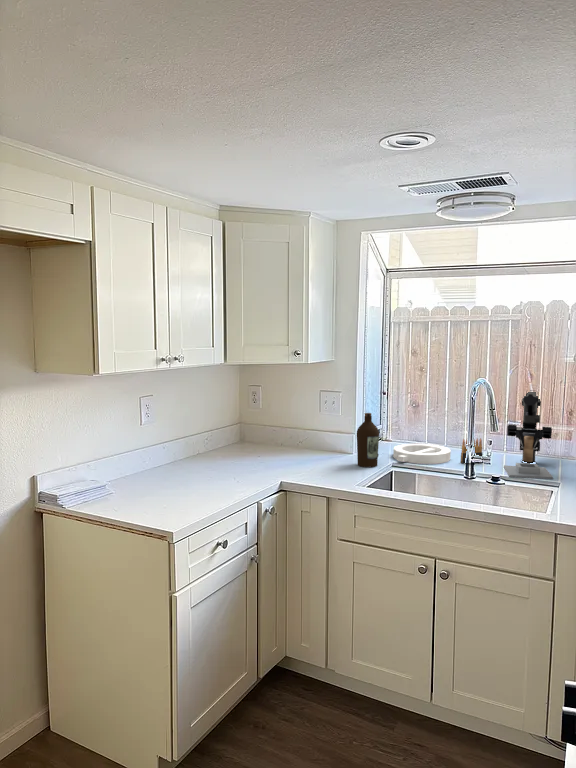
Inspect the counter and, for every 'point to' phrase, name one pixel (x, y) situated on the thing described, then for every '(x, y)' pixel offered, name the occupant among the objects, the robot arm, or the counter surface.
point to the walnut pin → (528, 448)
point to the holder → (528, 471)
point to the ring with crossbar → (421, 453)
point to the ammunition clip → (477, 449)
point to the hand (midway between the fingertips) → (528, 446)
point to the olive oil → (367, 443)
